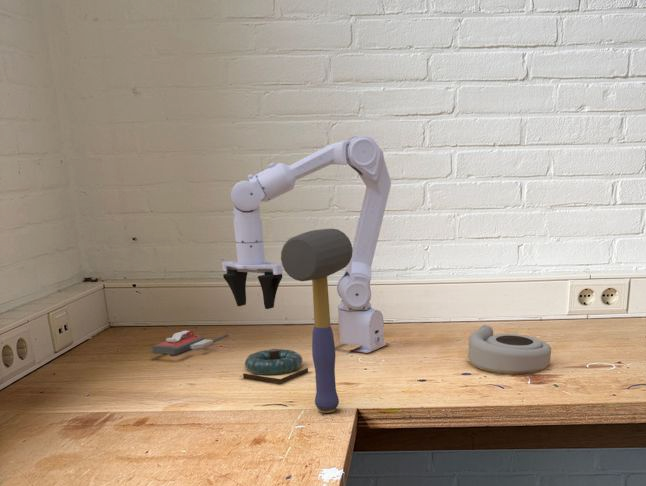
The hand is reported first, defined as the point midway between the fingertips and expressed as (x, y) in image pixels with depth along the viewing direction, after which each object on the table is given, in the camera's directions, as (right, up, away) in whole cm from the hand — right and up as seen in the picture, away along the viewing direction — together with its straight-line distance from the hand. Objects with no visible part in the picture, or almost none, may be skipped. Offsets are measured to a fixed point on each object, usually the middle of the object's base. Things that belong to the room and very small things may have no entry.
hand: (255, 306), depth 170 cm
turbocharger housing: (+52, -13, -10) cm, 55 cm away
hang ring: (+6, -13, -14) cm, 20 cm away
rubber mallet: (+19, -23, -35) cm, 46 cm away
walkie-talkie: (-16, -9, +8) cm, 20 cm away
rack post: (+6, -15, -13) cm, 21 cm away
